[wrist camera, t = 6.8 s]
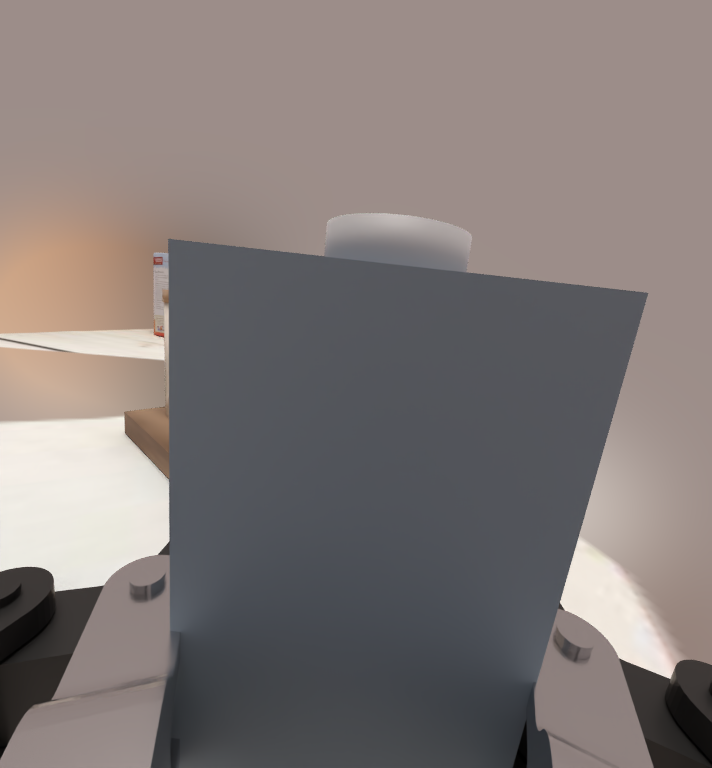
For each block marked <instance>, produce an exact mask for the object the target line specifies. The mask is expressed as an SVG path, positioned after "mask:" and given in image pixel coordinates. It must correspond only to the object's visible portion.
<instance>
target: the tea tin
mask: <svg viewBox="0 0 712 768" xmlns="http://www.w3.org/2000/svg"><path fill="white" fill-rule="evenodd" d="M471 241H472V235H471V234H470V233H469V232H467V231H466V230H464V229H462V228H460V227H457V226H455V225H451V224H448V223H445V222H441V221H436V220H432V219H427V218H420V217H415V216H407V215H396V214H382V213H361V214H349V215H342V216H338V217H335V218H333V219H330V220H329V221H328V223H327V232H326V243H325V255H324V256H315V255H306V254H298V253H289V252H280V251H270V250H262V249H253V248H245V247H236V246H227V245H217V244H209V243H200V242H192V241H182V240H173V239H168V242H169V243H168V251H169V252H168V266H169V523H170V631H176V632H181V644H180V664H179V671H178V677H177V684H176V690H175V697H174V704H173V713H172V724H171V738H176V739H180V763H179V768H513V764H514V761H515V757H516V754H517V750H518V747H519V743H520V740H521V736H522V733H523V729H524V726H525V722H526V706H527V703H528V699H529V696H530V692H531V689H532V685H533V682H537V680H538V677H539V673H540V670H541V666H542V663H543V659H544V656H545V652H546V649H547V645H548V642H549V638H550V635H551V631H552V628H553V624H554V621H555V617H556V614H557V610H558V607H559V603H560V600H561V596H562V593H563V589H564V586H565V582H566V579H567V575H568V572H569V568H570V565H571V561H572V558H573V554H574V551H575V547H576V544H577V540H578V537H579V533H580V530H581V526H582V523H583V519H584V516H585V512H586V509H587V505H588V502H589V498H590V495H591V491H592V488H593V484H594V481H595V477H596V474H597V470H598V467H599V463H600V460H601V456H602V453H603V449H604V446H605V442H606V438H607V435H608V432H609V428H610V425H611V421H612V418H613V414H614V411H615V407H616V404H617V400H618V397H619V393H620V389H621V386H622V383H623V379H624V376H625V372H626V369H627V365H628V362H629V358H630V355H631V351H632V348H633V344H634V341H635V337H636V334H637V330H638V327H639V323H640V320H641V316H642V313H643V309H644V306H645V302H646V299H647V295H648V293H643V292H635V291H626V290H617V289H608V288H600V287H590V286H582V285H572V284H564V283H555V282H546V281H538V280H537V281H536V280H529V279H519V278H511V277H502V276H493V275H484V274H475V273H467V272H466V270H467V264H468V258H469V252H470V247H471Z"/></svg>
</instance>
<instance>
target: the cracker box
mask: <svg viewBox="0 0 712 768" xmlns="http://www.w3.org/2000/svg"><path fill="white" fill-rule="evenodd" d="M162 289H166V290H169V266H168V253H154V334H155V335H158V336H163V337H164V302H162Z"/></svg>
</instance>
